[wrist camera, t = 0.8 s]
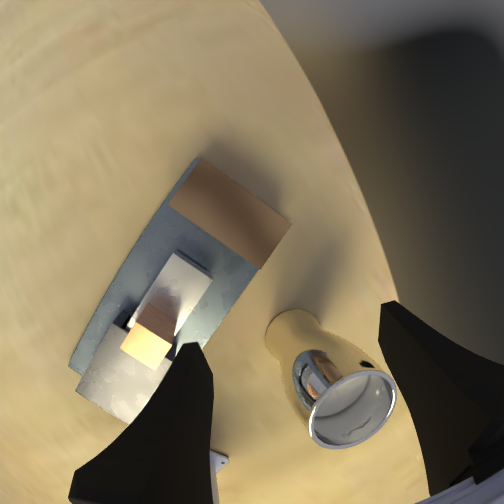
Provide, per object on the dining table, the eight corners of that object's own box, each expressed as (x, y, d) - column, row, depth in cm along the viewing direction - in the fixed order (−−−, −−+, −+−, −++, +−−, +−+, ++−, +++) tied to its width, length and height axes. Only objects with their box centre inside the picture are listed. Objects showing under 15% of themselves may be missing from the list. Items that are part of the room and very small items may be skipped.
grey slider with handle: (130, 395, 28) (114, 440, 20) (98, 375, 27) (74, 416, 19) (211, 274, 28) (215, 295, 20) (176, 249, 27) (165, 261, 20)
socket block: (251, 261, 29) (260, 269, 25) (173, 207, 28) (167, 204, 23) (278, 223, 29) (292, 224, 25) (201, 167, 28) (201, 158, 23)
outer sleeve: (151, 414, 30) (146, 440, 25) (70, 362, 28) (53, 383, 23) (287, 224, 30) (303, 226, 25) (196, 159, 28) (195, 147, 23)
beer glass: (254, 314, 31) (299, 389, 16) (318, 297, 32) (400, 352, 17) (267, 371, 32) (310, 464, 17) (326, 354, 33) (397, 428, 18)
